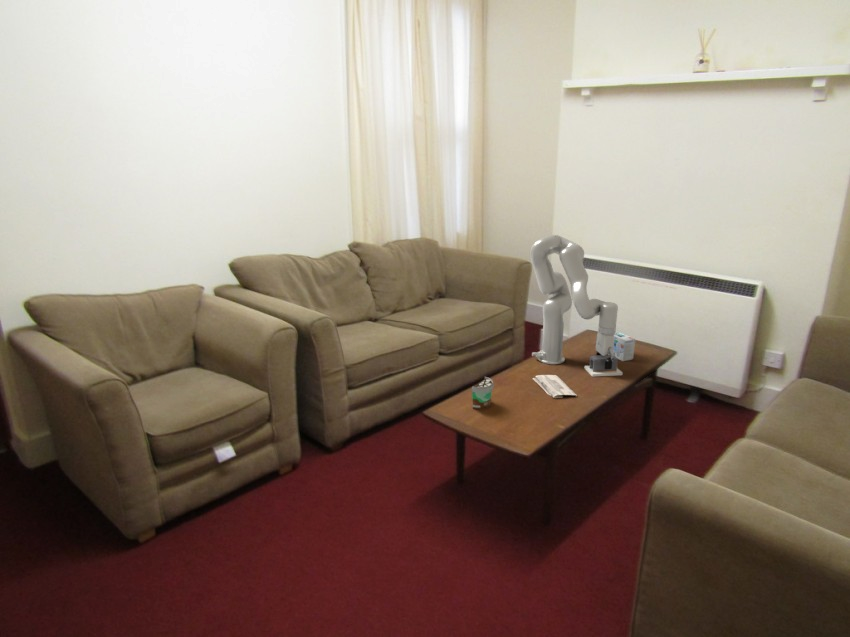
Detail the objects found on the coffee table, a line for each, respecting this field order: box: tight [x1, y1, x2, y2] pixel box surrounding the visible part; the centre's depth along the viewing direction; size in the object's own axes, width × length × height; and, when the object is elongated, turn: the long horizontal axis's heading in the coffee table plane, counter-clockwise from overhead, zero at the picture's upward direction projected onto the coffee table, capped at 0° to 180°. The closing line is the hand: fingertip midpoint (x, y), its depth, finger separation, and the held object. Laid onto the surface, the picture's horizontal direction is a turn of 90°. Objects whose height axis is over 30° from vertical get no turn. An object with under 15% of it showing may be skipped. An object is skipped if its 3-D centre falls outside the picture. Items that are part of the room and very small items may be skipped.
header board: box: [583, 365, 623, 378], centre depth 260 cm, size 14×10×5 cm
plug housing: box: [588, 354, 619, 372], centre depth 259 cm, size 11×5×6 cm, turn 96°
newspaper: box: [532, 374, 578, 399], centre depth 245 cm, size 23×12×2 cm, turn 9°
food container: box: [471, 376, 495, 410], centre depth 227 cm, size 12×6×10 cm, turn 148°
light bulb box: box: [614, 332, 636, 362], centre depth 277 cm, size 11×7×11 cm, turn 25°
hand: (603, 364), depth 260 cm, fingers open, 9 cm apart
